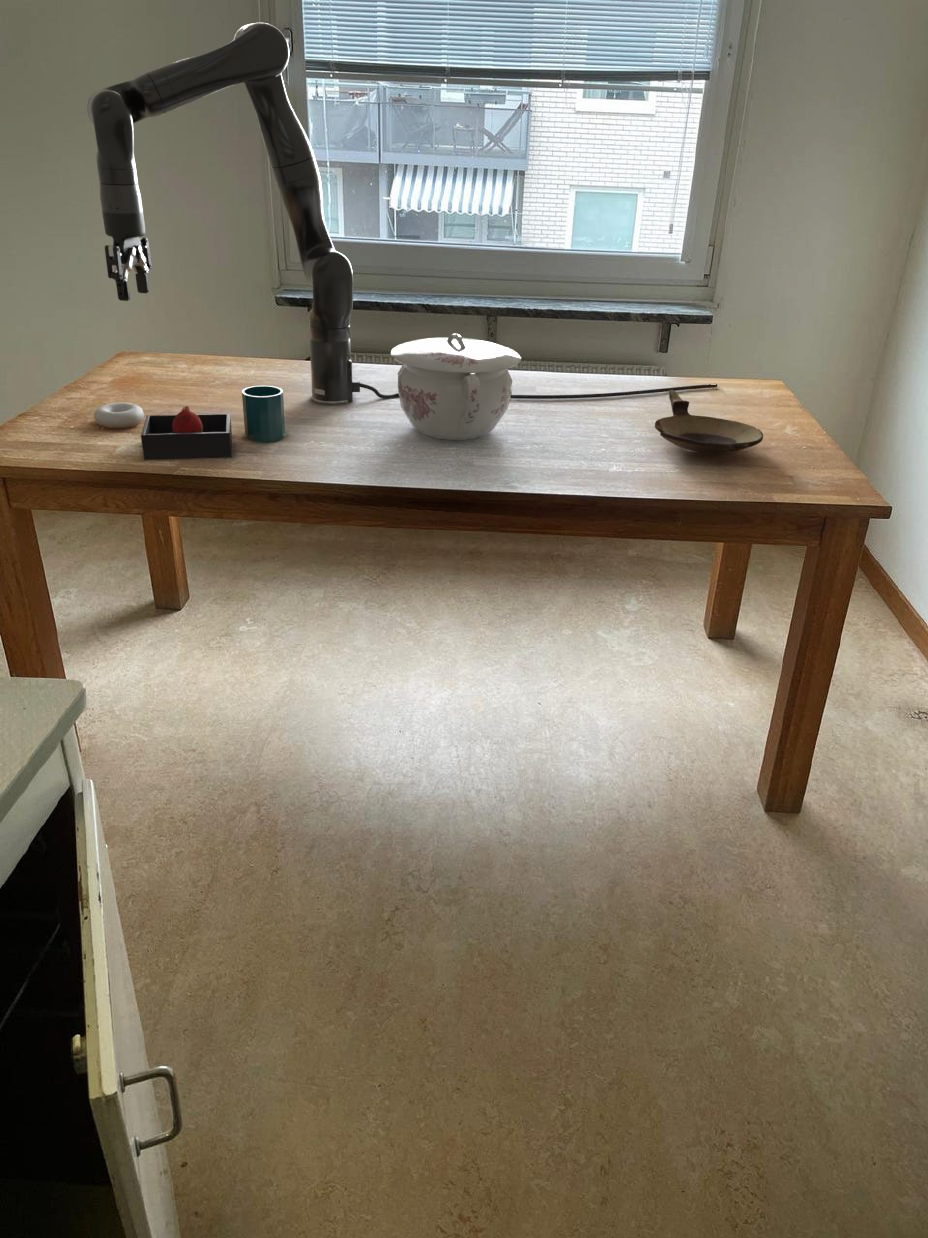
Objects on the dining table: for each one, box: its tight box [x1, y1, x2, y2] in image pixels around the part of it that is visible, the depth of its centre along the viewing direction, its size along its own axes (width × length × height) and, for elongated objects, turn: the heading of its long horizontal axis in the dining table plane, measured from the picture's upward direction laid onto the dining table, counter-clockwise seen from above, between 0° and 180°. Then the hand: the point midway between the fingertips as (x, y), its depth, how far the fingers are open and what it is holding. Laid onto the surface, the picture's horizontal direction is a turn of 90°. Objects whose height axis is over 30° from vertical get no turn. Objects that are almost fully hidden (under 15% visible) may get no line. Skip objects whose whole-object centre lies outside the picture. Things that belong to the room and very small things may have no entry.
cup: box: [241, 385, 286, 444], centre depth 185 cm, size 8×8×10 cm
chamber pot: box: [390, 332, 522, 441], centre depth 190 cm, size 28×28×21 cm
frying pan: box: [654, 390, 764, 454], centre depth 192 cm, size 22×30×8 cm
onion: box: [172, 405, 203, 433], centre depth 177 cm, size 6×6×8 cm
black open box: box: [140, 413, 233, 461], centre depth 178 cm, size 16×12×5 cm
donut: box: [93, 402, 145, 429], centre depth 189 cm, size 10×3×10 cm
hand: (134, 296), depth 181 cm, fingers open, 8 cm apart
